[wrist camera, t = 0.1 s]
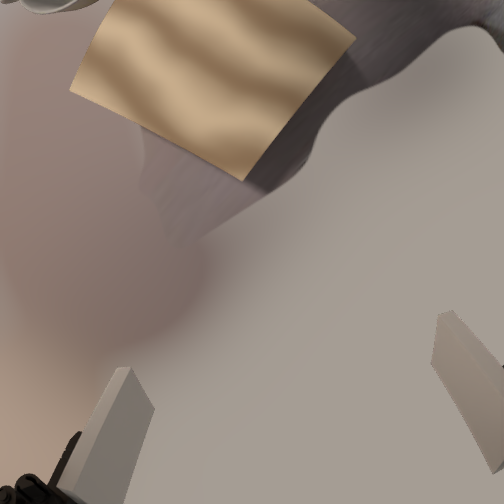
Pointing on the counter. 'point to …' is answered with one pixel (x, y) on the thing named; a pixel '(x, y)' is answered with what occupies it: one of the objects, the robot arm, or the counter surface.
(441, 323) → the robot arm
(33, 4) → the teacup
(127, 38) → the wooden riser stand
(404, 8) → the counter surface
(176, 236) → the counter surface
